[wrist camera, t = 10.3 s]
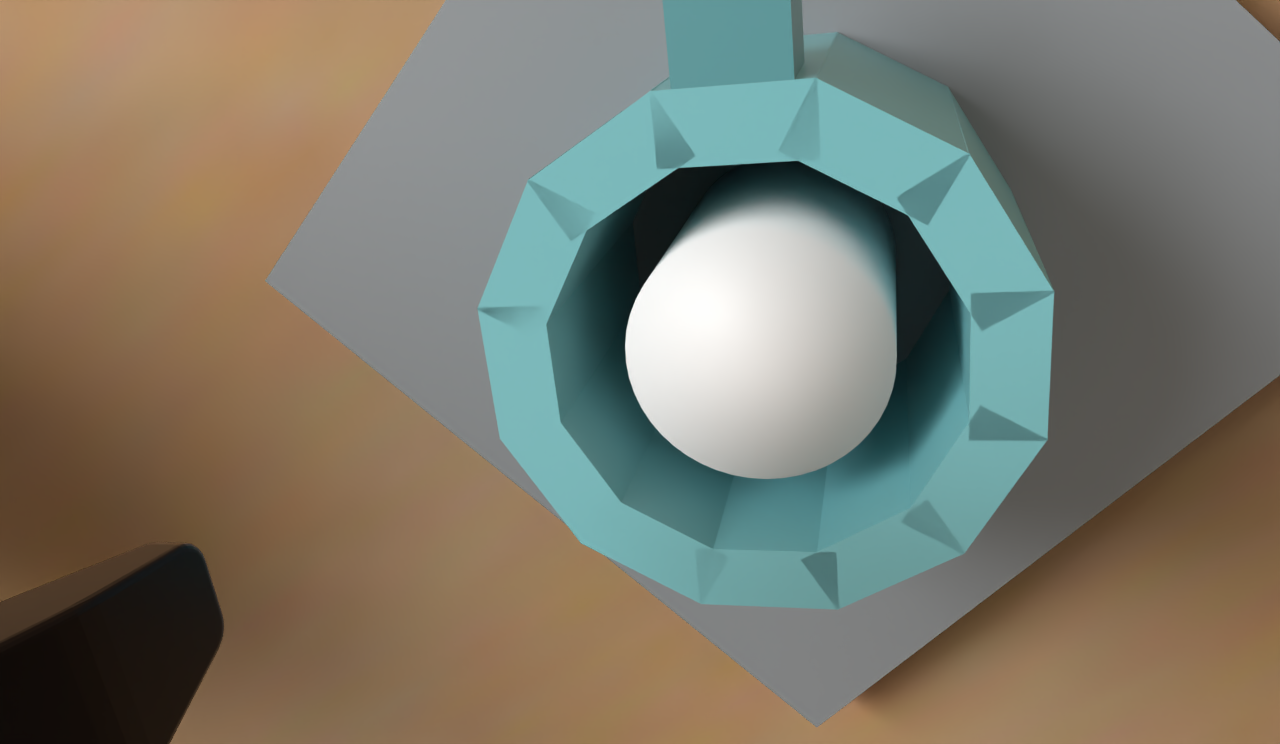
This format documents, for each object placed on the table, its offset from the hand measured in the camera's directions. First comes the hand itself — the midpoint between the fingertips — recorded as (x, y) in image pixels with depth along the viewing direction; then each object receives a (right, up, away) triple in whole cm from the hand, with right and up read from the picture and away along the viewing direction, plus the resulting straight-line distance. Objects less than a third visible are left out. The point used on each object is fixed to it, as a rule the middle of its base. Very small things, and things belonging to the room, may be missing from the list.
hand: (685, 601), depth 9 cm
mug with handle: (+2, +4, +9) cm, 10 cm away
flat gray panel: (+2, +4, +10) cm, 12 cm away
